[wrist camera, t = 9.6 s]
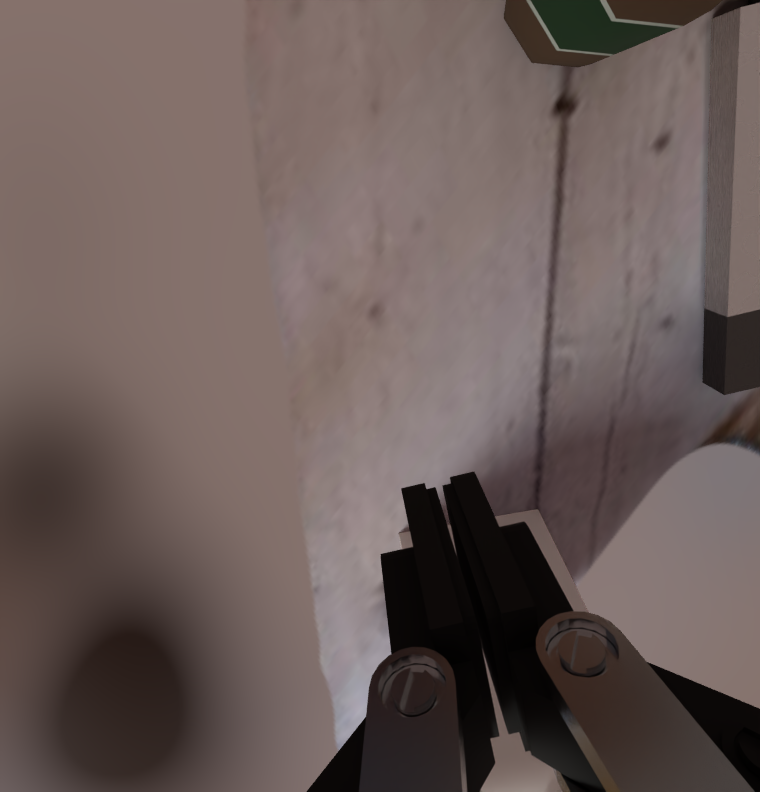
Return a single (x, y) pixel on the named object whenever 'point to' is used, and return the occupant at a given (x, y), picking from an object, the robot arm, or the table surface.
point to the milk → (514, 768)
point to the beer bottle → (594, 26)
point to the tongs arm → (733, 204)
